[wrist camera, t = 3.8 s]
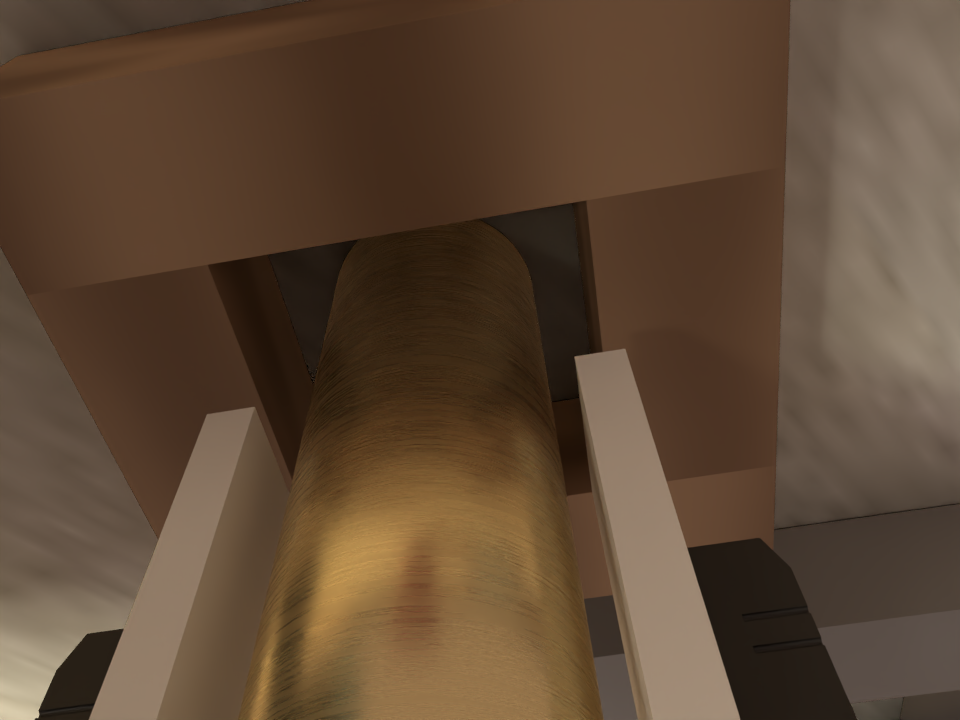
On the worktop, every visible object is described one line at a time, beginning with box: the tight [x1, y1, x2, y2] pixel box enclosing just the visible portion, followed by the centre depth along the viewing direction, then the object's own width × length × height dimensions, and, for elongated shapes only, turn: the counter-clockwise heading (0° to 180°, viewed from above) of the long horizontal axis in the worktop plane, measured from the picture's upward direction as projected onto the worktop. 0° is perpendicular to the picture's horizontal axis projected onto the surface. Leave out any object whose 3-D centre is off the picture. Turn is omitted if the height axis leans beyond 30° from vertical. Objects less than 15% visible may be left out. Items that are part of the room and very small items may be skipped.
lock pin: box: [238, 219, 604, 720], centre depth 12 cm, size 4×4×14 cm
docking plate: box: [584, 504, 960, 720], centre depth 23 cm, size 12×12×3 cm
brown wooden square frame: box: [0, 0, 790, 599], centre depth 16 cm, size 12×12×3 cm
